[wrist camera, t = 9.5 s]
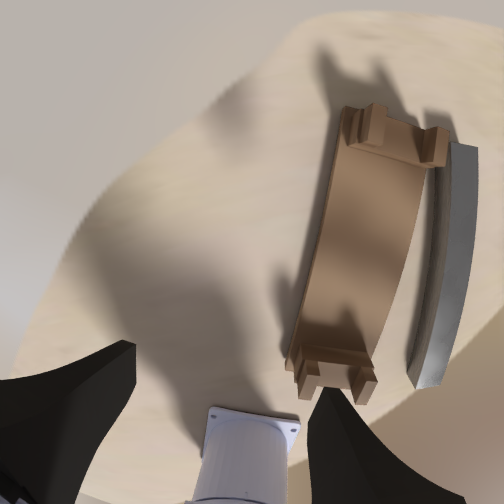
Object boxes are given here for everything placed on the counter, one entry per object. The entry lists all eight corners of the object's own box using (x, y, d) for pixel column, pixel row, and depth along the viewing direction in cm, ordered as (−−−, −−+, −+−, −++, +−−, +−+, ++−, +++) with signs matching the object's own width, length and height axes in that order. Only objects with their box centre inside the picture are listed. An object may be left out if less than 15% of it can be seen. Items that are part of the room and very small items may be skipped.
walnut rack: (359, 372, 21) (372, 410, 17) (284, 362, 21) (285, 403, 17) (424, 135, 17) (460, 127, 12) (342, 109, 17) (360, 89, 12)
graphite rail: (429, 369, 21) (440, 384, 19) (405, 372, 21) (415, 389, 19) (459, 149, 17) (477, 147, 14) (433, 144, 17) (450, 141, 15)
